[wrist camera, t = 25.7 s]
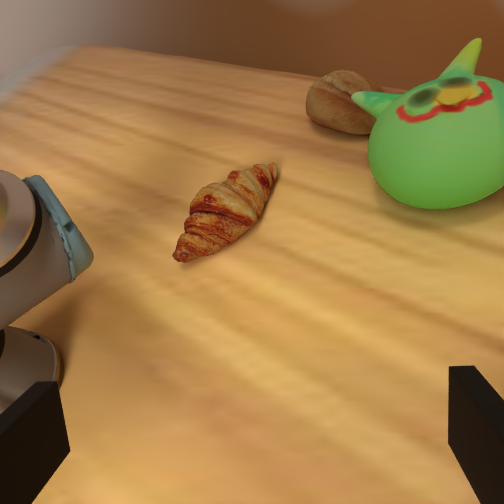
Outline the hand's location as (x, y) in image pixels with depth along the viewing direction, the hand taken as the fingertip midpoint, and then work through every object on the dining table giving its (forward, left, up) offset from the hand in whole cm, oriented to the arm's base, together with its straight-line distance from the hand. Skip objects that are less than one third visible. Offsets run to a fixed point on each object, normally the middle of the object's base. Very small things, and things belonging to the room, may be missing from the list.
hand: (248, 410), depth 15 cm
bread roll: (+17, +54, -31) cm, 65 cm away
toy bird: (+24, +35, -31) cm, 53 cm away
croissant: (-4, +42, -31) cm, 53 cm away
